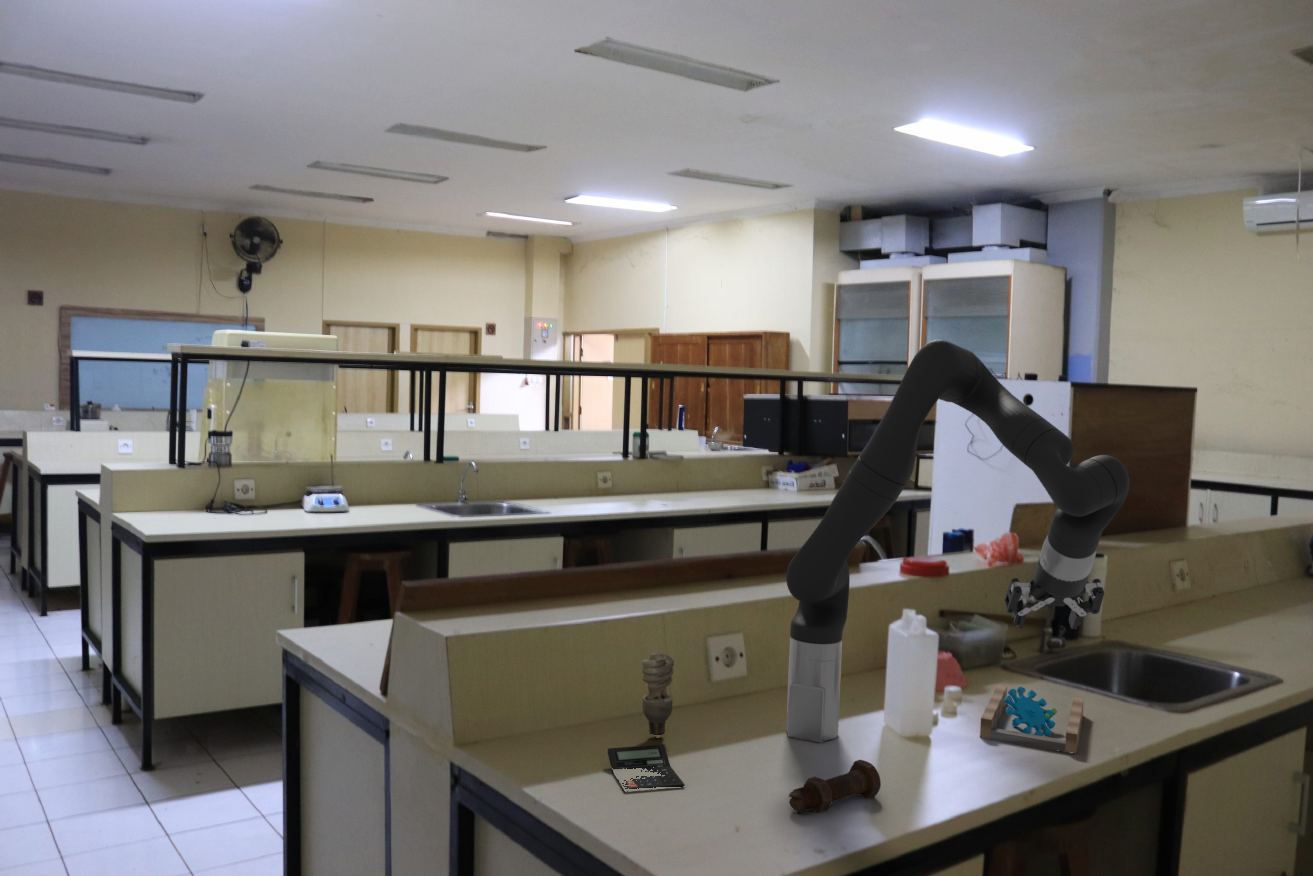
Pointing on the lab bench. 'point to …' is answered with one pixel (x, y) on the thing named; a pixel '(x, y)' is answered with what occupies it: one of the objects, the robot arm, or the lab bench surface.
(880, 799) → the lab bench surface
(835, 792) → the bolt
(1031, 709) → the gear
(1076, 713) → the chute
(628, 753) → the calculator
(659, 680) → the light bulb
